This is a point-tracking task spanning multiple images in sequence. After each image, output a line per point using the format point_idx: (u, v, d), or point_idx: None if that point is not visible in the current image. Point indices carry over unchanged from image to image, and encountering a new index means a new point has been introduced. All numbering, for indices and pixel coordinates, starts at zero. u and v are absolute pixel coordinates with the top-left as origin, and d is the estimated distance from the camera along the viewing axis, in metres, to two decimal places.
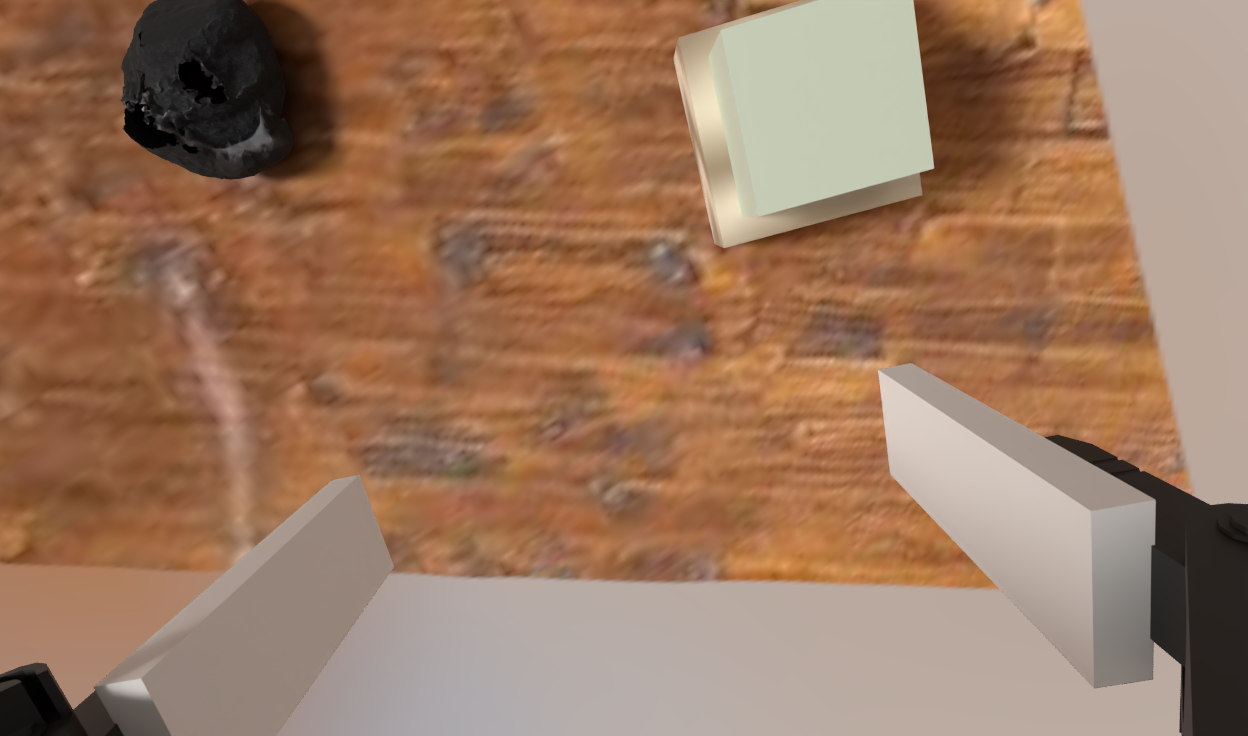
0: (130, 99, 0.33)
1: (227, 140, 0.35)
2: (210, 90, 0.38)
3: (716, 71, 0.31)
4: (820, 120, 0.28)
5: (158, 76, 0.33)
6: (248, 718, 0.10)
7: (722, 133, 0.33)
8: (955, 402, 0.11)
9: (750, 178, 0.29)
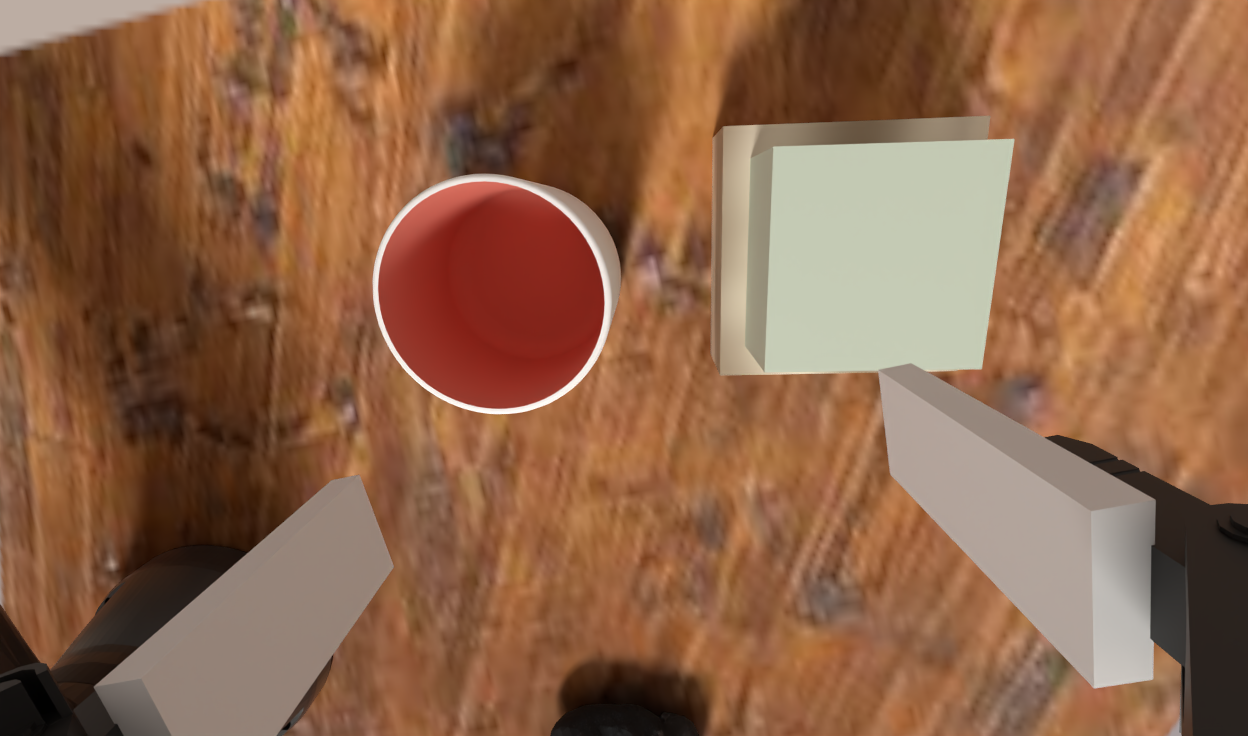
0: None
1: None
2: None
3: None
4: (899, 277, 0.23)
5: None
6: (248, 718, 0.10)
7: None
8: (955, 402, 0.11)
9: None
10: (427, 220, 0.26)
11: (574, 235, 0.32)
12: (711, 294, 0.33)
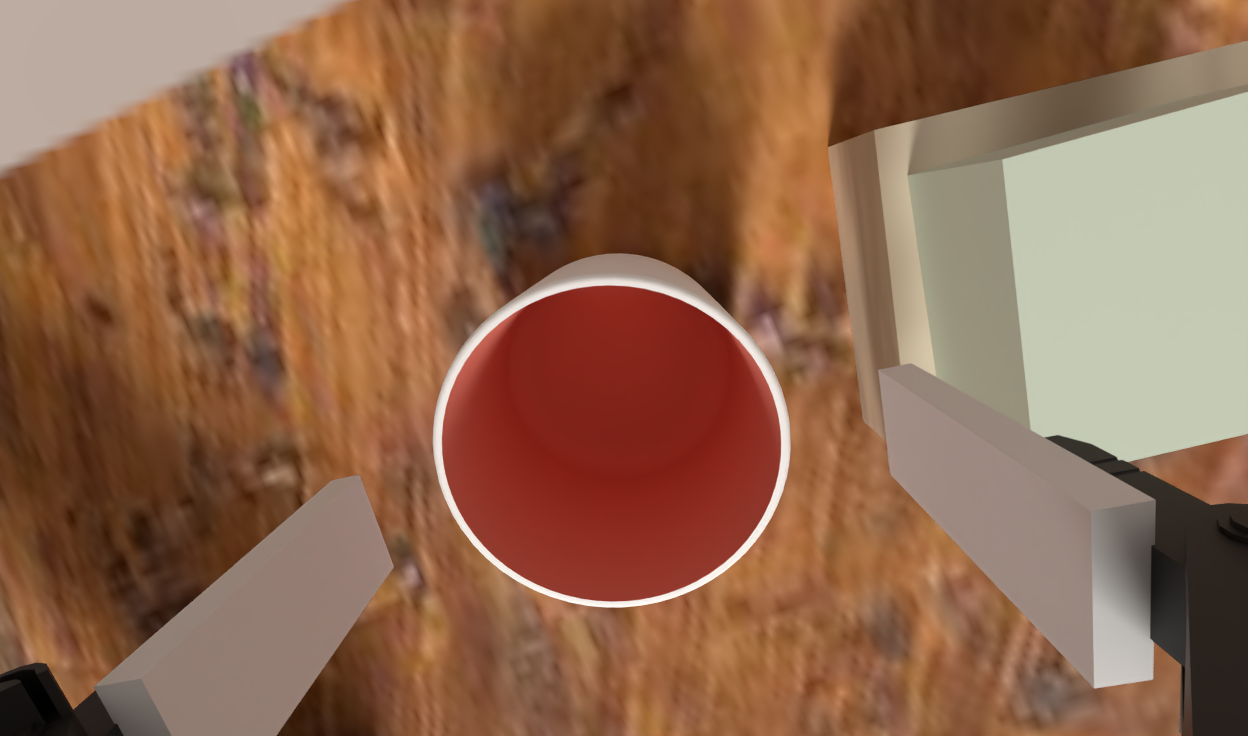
0: None
1: None
2: None
3: None
4: (1228, 302, 0.15)
5: None
6: (248, 718, 0.10)
7: None
8: (955, 402, 0.11)
9: None
10: (488, 345, 0.18)
11: (662, 307, 0.25)
12: (855, 347, 0.25)
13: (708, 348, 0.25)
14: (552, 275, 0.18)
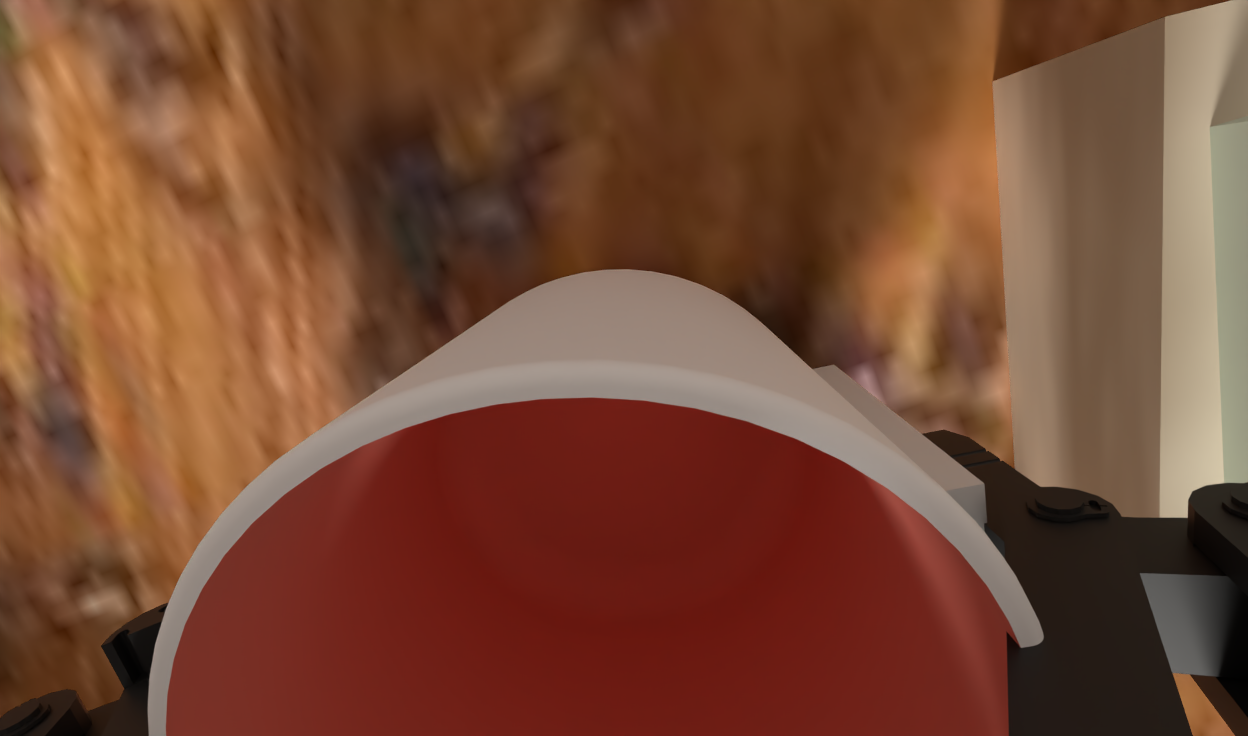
0: None
1: None
2: None
3: None
4: None
5: None
6: None
7: None
8: (857, 400, 0.12)
9: None
10: (342, 475, 0.09)
11: None
12: (1016, 418, 0.15)
13: None
14: (480, 326, 0.09)
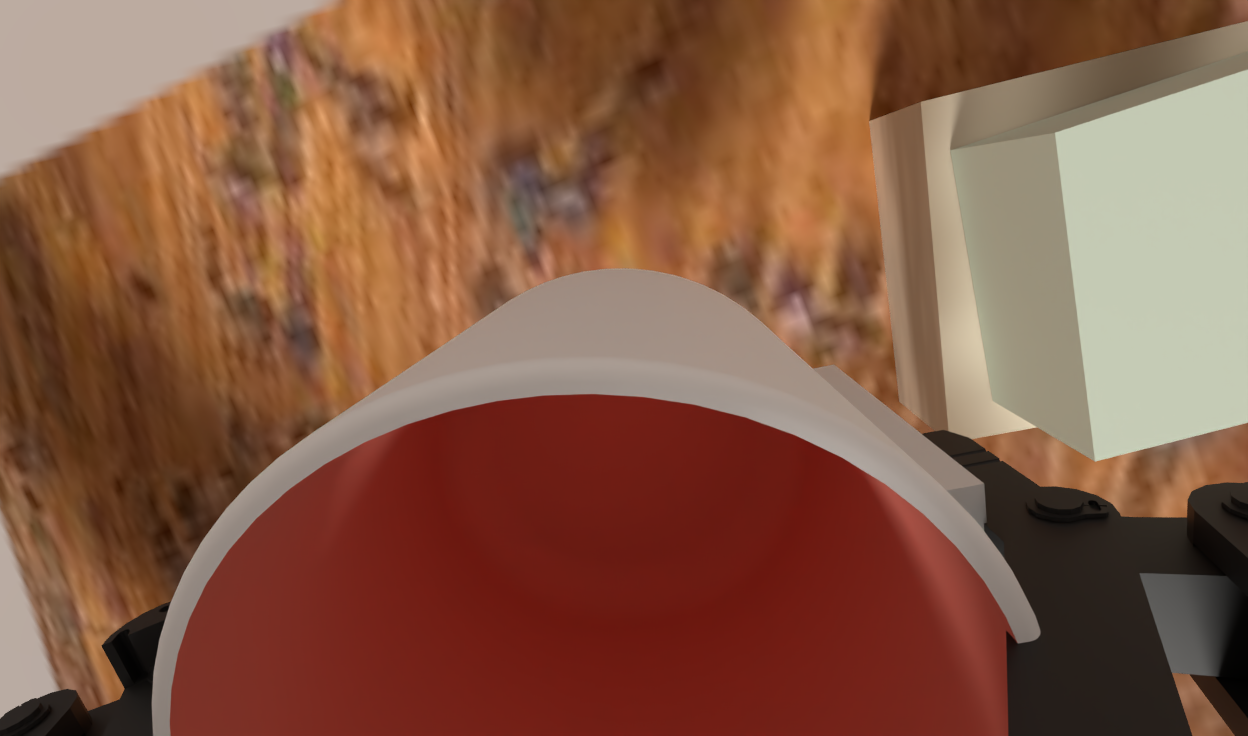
0: None
1: None
2: None
3: None
4: None
5: None
6: None
7: None
8: (857, 400, 0.12)
9: None
10: (344, 473, 0.09)
11: None
12: (893, 326, 0.25)
13: None
14: (481, 325, 0.09)
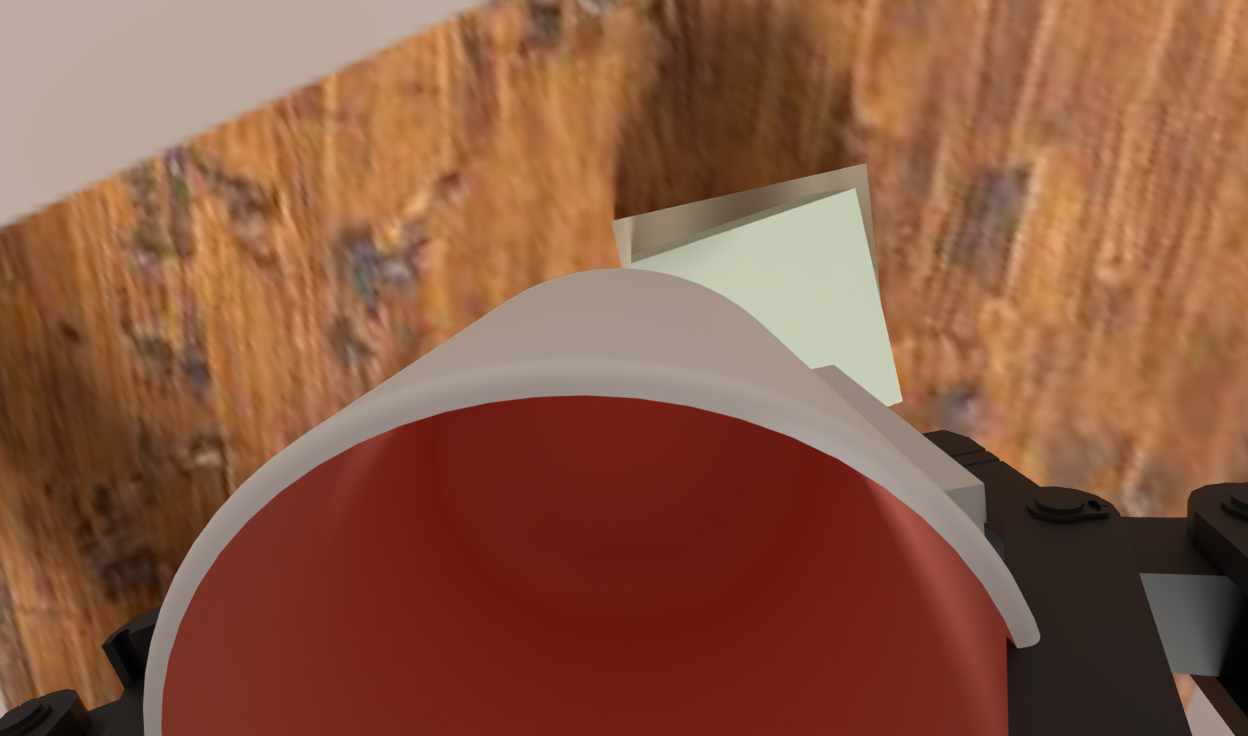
0: None
1: None
2: None
3: None
4: (792, 342, 0.23)
5: None
6: None
7: None
8: (857, 400, 0.12)
9: None
10: (339, 474, 0.09)
11: None
12: None
13: None
14: (477, 325, 0.09)
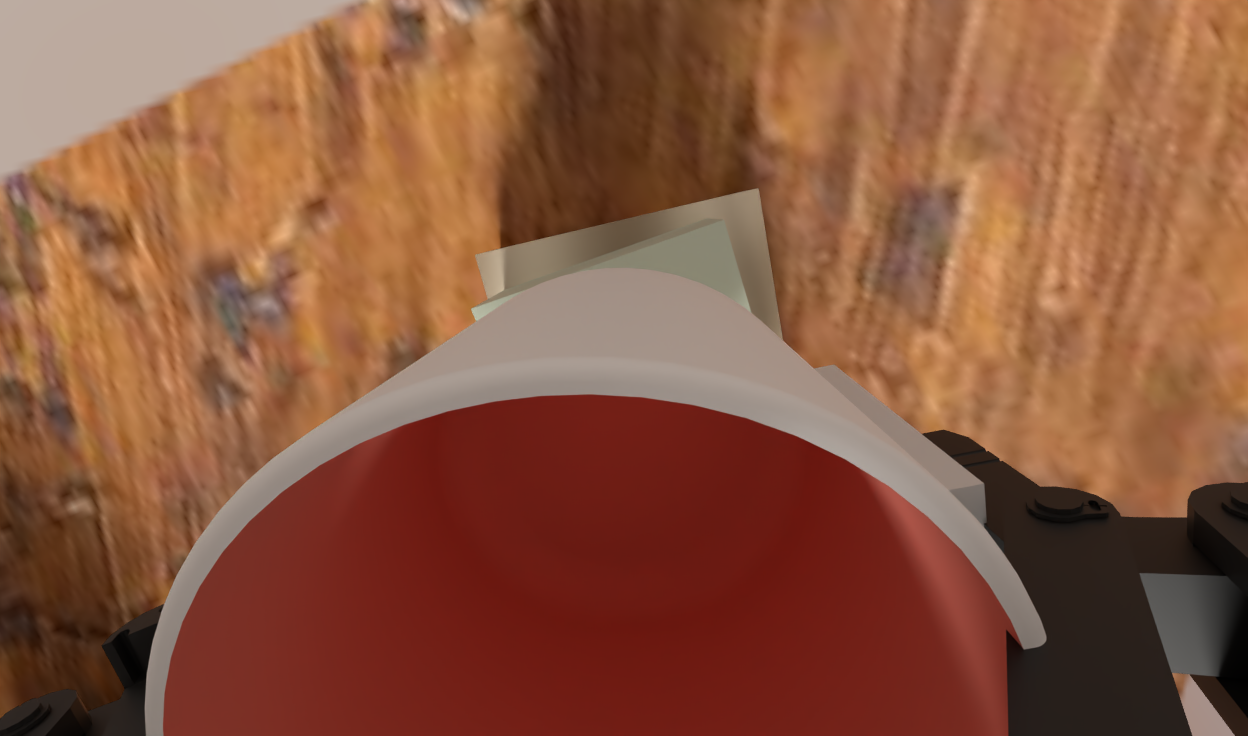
0: None
1: None
2: None
3: None
4: None
5: None
6: None
7: None
8: (857, 400, 0.12)
9: None
10: (340, 474, 0.09)
11: None
12: None
13: None
14: (480, 324, 0.09)
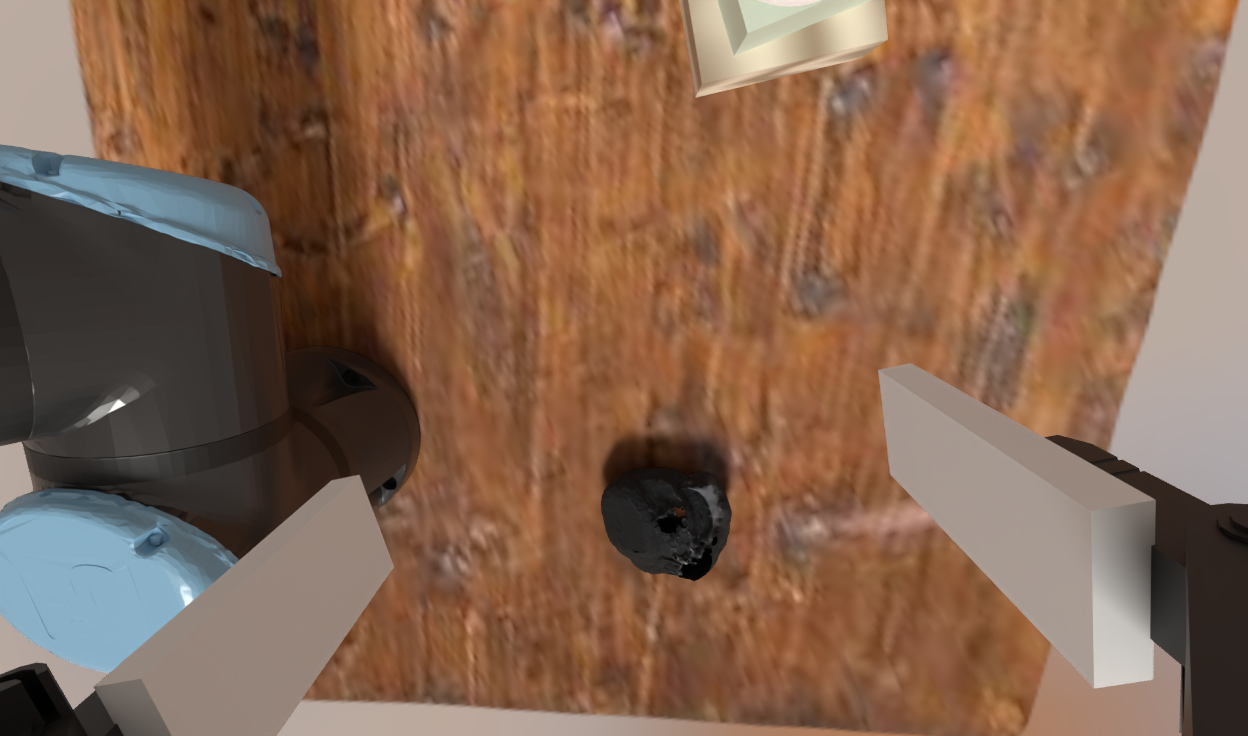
0: (678, 569, 0.46)
1: (707, 515, 0.47)
2: (659, 521, 0.51)
3: (755, 42, 0.35)
4: None
5: (667, 547, 0.46)
6: (248, 718, 0.10)
7: (784, 41, 0.37)
8: (955, 402, 0.11)
9: None
10: None
11: None
12: None
13: None
14: None
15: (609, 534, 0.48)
